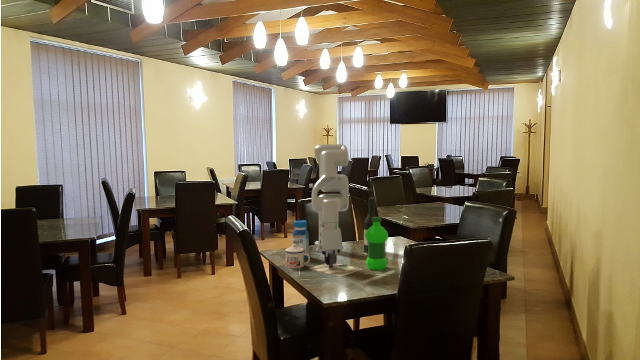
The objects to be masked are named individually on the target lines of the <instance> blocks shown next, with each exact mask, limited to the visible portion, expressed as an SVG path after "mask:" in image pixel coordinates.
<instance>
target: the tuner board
mask: <svg viewBox="0 0 640 360" xmlns="http://www.w3.org/2000/svg"><path fill="white" fill-rule="evenodd" d="M335 265H343V263H342V264H341V263H337V262H336V264H333V266H335ZM307 269H309V270H313V271H317V272H320V273H325V274H329V275H333V276H337V277H343V276H347V275H350V274H353V273H355V272H358V271H363V268H361V267H356V266H355V267H354V266H351V265H348V264H347V265H345V266H337V267H333V268H329V265H327V264H325V263H322V264H319V265H315V266H312V267H308V268H307Z"/></svg>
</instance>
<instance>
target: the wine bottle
mask: <svg viewBox="0 0 640 360" xmlns="http://www.w3.org/2000/svg"><path fill="white" fill-rule="evenodd" d="M367 201H368V202H367V203H368V206H367V207H368V208H367V209H368V212H367V216H366V218H364V221H363V252H364V253H367V254H368V241H367V240H366V238H365V233H366V231H367V230H368V229H369V228H370V227H371V226H372V225H373V222H372V217H377V215H376V213H375V209H376V208H375V206H376V205H375V204H376V203H375V198H374V197H373V196H372V197H371V196H369V198H368V199H367Z"/></svg>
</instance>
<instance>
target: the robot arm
mask: <svg viewBox="0 0 640 360" xmlns="http://www.w3.org/2000/svg"><path fill="white" fill-rule="evenodd" d="M313 151H314V157H315V159H316V162H317V164H318V170H319V172H318V173H319V174H318V177H319V179H318V180H317V181H316V182H315V183H314V185H313V187H312V190H311V208H312V211H313V212H314V213H317V214H318V240H316V241H315V242H314V245H315V246H317V247H316V248H315V250H316V251H317V252H319V253H321V254H322V255H323V256H324V264H327V265H329V256H328V252H329V251H331V252H333V253H334V254H336V263H337V260H338V259H337V256H338V254H339V253H340V252H341V251H342V250H344V248H345V247H344V246H343V238H342V237H343V236H342V230H341V228H340V227H339V212H345V211H347V210H348V209H349V207H350V206H349V205H350V203H349V202H350V198H349V191H350V190H349V188H350V187H349V185H350V184H349V178H348V176H347V175H345V174H338V167H346V166H348V164H349V161H350V160H349V150H348V147H347V146H346V145H345V144H342V143H340V144H339V143H337V144H336V143H335V144H334V143H333V144H330V143H329V144H328V143H326V144H323V143H322V144H317V145H315V146H314V150H313ZM320 190H321V192H325V193H322V194H320V195H318V193H319V191H320ZM329 192H330V193H329ZM338 192H339V193H338Z"/></svg>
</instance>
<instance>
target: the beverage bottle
mask: <svg viewBox="0 0 640 360" xmlns="http://www.w3.org/2000/svg"><path fill="white" fill-rule="evenodd" d="M307 227H308V221H307V220H305V219H301V220H300V219H298V220H294V221H293V228H294V230H293V232H292V237H291V238H292V239H291V240H292V245H293V244H296V245H297V246H298V247H300V248H303V249H304V253H306V254H308V255H309V250H310V249H309V240H310V239H309V231H308V229H307ZM309 256H310V255H309ZM306 259H308V256H307V255H304V260H306Z"/></svg>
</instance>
